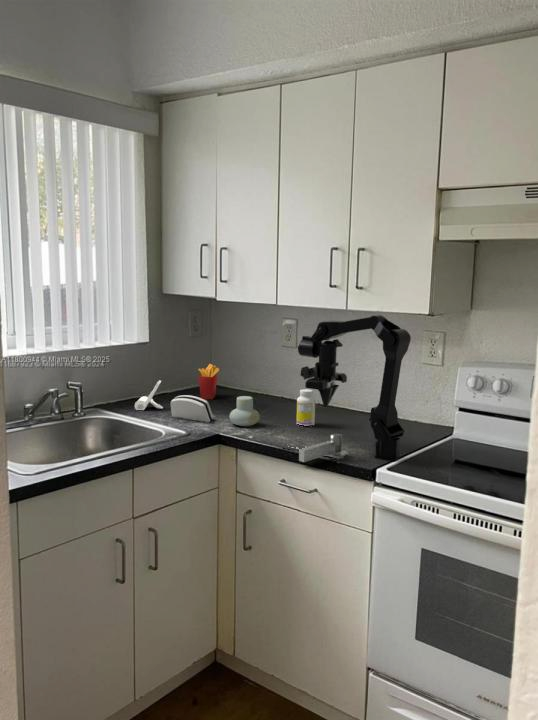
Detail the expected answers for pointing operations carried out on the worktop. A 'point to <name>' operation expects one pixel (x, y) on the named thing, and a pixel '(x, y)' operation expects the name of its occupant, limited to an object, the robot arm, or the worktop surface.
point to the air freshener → (244, 412)
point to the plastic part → (148, 400)
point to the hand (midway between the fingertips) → (325, 406)
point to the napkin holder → (191, 408)
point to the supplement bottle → (306, 408)
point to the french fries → (208, 382)
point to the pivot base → (338, 454)
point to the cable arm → (321, 448)
